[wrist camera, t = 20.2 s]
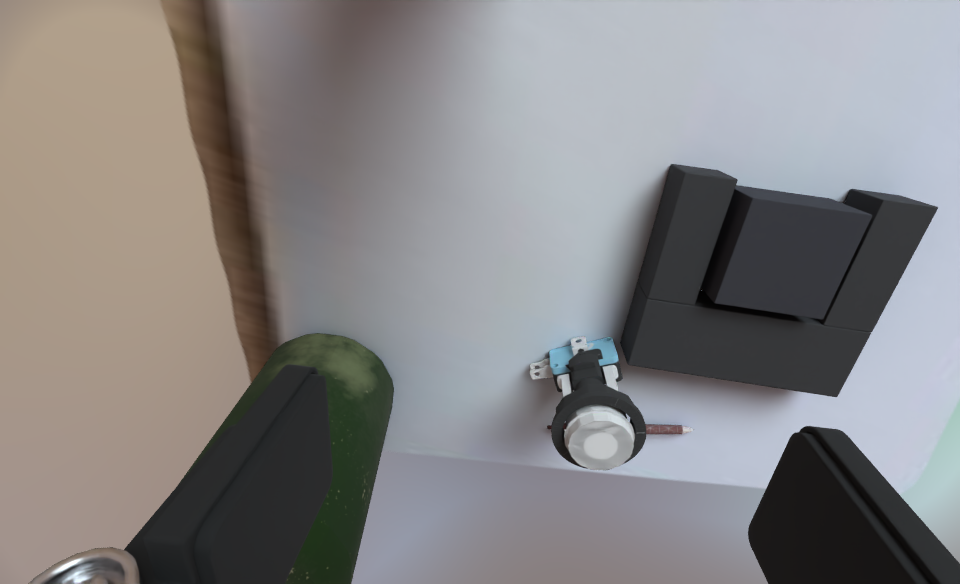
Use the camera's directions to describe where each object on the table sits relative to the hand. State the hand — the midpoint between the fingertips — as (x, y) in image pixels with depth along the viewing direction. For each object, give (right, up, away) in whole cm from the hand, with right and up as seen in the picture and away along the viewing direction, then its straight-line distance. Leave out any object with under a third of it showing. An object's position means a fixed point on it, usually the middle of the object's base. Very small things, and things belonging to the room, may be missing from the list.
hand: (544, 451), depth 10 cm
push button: (+6, -1, +26) cm, 27 cm away
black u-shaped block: (+17, +4, +22) cm, 28 cm away
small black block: (+17, +7, +21) cm, 28 cm away
